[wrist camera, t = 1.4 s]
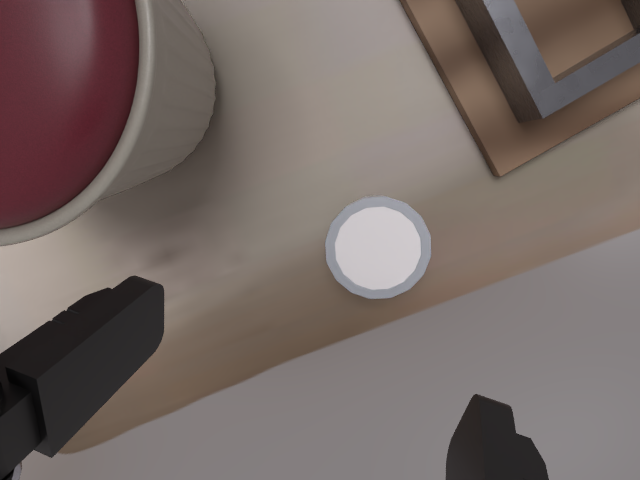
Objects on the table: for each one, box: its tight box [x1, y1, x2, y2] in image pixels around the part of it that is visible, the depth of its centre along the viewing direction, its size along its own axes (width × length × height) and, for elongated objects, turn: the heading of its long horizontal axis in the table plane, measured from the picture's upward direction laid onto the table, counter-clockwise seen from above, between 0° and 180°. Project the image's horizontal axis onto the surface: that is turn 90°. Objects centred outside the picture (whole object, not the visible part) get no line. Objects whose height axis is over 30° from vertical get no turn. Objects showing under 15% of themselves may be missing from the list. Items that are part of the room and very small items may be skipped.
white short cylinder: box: [325, 195, 431, 299], centre depth 30 cm, size 7×7×7 cm
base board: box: [400, 0, 640, 177], centre depth 29 cm, size 16×16×2 cm
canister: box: [0, 0, 216, 246], centre depth 23 cm, size 18×18×21 cm
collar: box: [455, 0, 640, 123], centre depth 26 cm, size 10×10×4 cm
